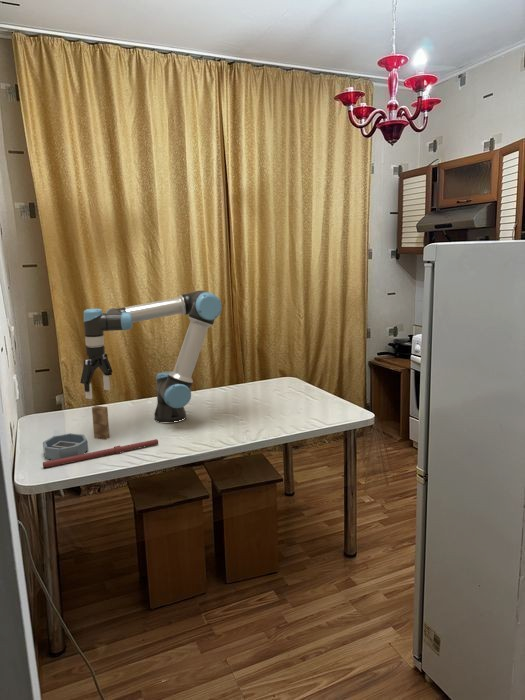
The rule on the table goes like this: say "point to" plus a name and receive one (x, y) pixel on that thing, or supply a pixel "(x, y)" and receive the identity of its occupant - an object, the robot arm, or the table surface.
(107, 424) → the flat wood plank
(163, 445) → the table surface
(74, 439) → the octagonal blue tray
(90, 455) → the rolling pin
